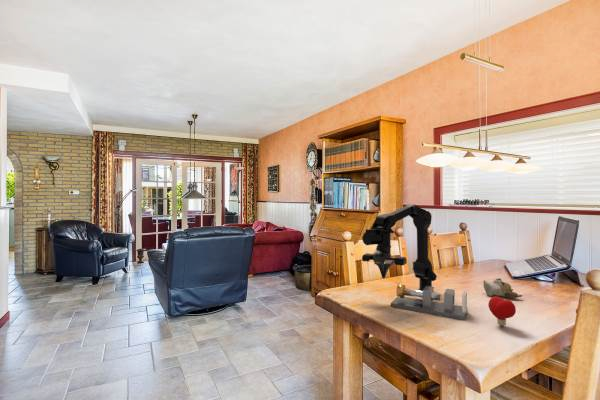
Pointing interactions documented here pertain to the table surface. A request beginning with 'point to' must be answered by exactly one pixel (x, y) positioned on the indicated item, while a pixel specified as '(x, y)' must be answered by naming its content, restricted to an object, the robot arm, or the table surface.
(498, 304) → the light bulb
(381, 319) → the table surface
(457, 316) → the bearing frame
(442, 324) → the table surface
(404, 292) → the shaft
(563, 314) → the table surface
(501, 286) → the ceramic sculpture
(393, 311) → the table surface
